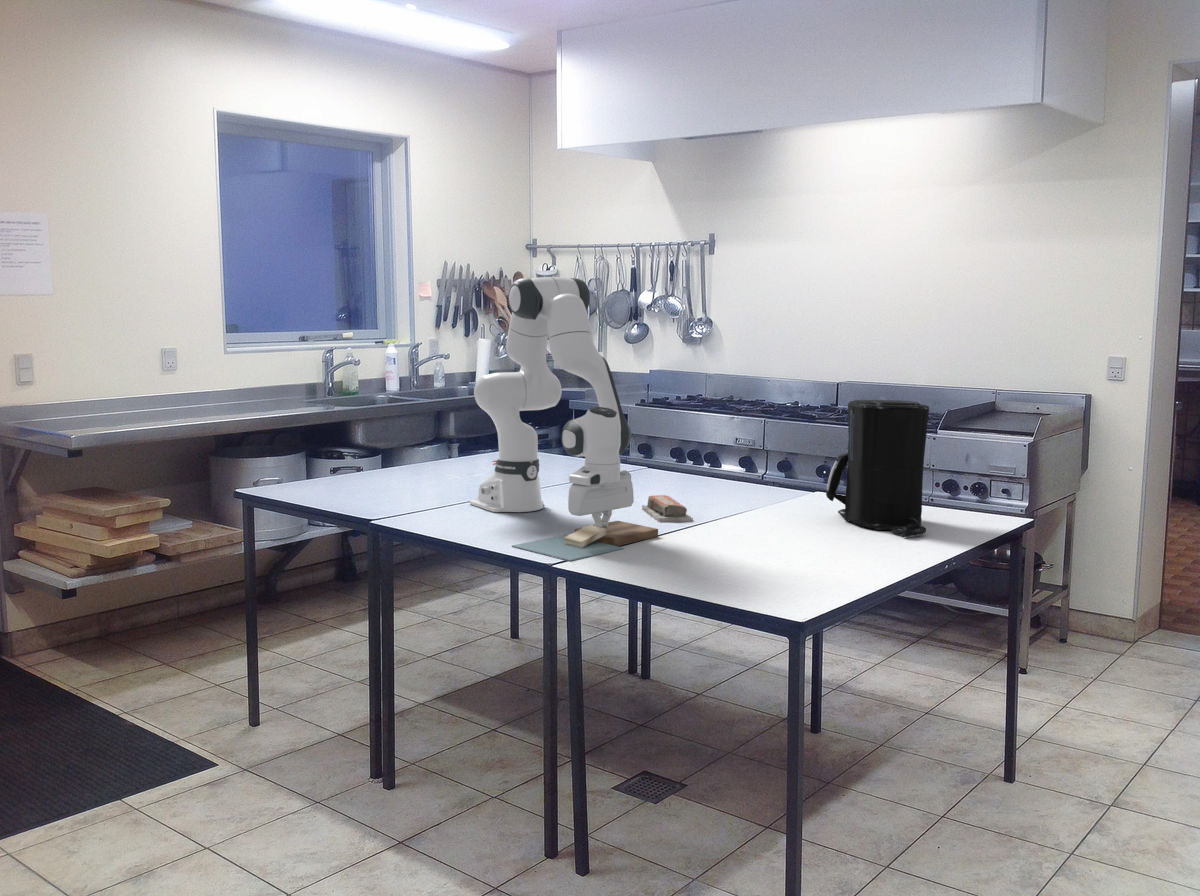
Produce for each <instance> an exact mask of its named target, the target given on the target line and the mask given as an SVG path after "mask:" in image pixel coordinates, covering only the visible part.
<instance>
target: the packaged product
mask: <svg viewBox="0 0 1200 896" xmlns="http://www.w3.org/2000/svg"><path fill="white" fill-rule="evenodd" d="M687 509H688V508H687V507H685V506H684V505H683V504H681V503H680V502H678V501H677V500H675V498H673V497H672V496H669V495H667V494H666V495H665V494H663V495H661V494H660V495H650V496H648V499H647V505H642V506H641V510H642V511H643V510H644V511H643V512H645V513H646V514H647V515H648V516H649V515H650V516H649V517H650V518H652V519H653V518H654V519H653V520H655V521H656V520H657V522H658V523H661V522H662V523H667V521H669V522H670V523H671V521H672V522H689V521H690V522H692V521H693V519H694V517H692V516H691V515H688V514H687V511H688V510H687Z"/></svg>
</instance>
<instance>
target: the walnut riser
mask: <svg viewBox="0 0 1200 896" xmlns="http://www.w3.org/2000/svg"><path fill="white" fill-rule="evenodd" d="M593 526H595V525H594V524H593ZM582 528H583V527H580V528H576V529H574V531H573V533H574V532H576V531H578V530H580V529H582ZM606 530H607V534H606V535H605V536H603V537H601V538H599V539H597V540H595V541H597V542H601V543H605V544H610V545H614V546H618V547H621V546H625V545H628V544H632V543H637V542H642V541H645V540H649V539H653V538H657V537H659V528H656V527H650V526H647V525H642V524H641V525H640V524H638V523H637V524H636V523H631V522H626V521H621V520H614V521H608V528H606Z"/></svg>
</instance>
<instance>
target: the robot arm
mask: <svg viewBox="0 0 1200 896" xmlns="http://www.w3.org/2000/svg"><path fill="white" fill-rule="evenodd" d="M590 302H591V293H590V289H589V287H588V285H587V283H586V282H585V281H584V280H583V279H579V278H576V277H569V278H568V277H561V276H544V277H533V278H530V277H523V278H519V279H517V280H514V281H513V283H512V284H511V286H510V288H509V291H508V304H509V308H510V310H511V315H510V320H509V325H508V326H509V327H508V331H507V338H506V345H505V351H506V355H507V356H508V358H509V359H510V360H512V361H513V362H514V363H516V364H517V365H520V369H519V371H515V372H514V371H512V372H511V371H510V372H509V371H508V372H507V371H506V372H504V371H503V372H494V373H493V372H492V373H489V374H484V375H481V376H480V377H479V378H478V379H477V381H476V382H475V385H474V388H473V394H474V395H473V396H474V400H475V402H476V404H477V406H478V407H480V409H481V410H482V411H484V412H485V413H487V415H488V416H489V417H490V418H491V420H492V421H493V424H494V425H495V429H496V432H497V440H498V442H497V443H498V459H497V460H492V465H493V466H494V465H495V467H494V472H492V473H491V474H490V475H489V476H487V478H486V479H484V480H483V481H482V482H481V483H480V484H479V486H478V494H477V495H478V498H474V499H471V500H470V501H469V504H470V505H471V506H474V507H477V508H481V509H484V510H486V511H489V512H492V513H526V512H534V511H539V510H541V509H542V510H543V508H544V500H543V498H542V490H541V481H540V476H539V471H540V459H539V458H538V453H539V451H538V446H539V445H538V439H539V437H538V433H537V432H536V430H535V428H534V427H533V426H531V425H529V424H527V423H525V422H523V421H522V419H521V416H520V412H525V411H541V410H542V411H543V410H546V409H550V408H553V407H556V406H557V405H558V404H559V402H560V400H561V398H562V395H563V394H562V391H563V389H562V384H561V382H560V380H559V379H558V377H557V376H556V374H554V373H553V372H552V371H551V370H550V368H549V366H548V363H547V362H548V361H547V345H549V351H550V355H551V358H552V360H553V362H554V363H555V364H556V365H557V366H558V367H559V368H560V369H561V370H564V371H566V372H567V373H570V374H572V375H575V376H577V377H580V378H582V379H583V380H585V381H586V382H588V383H589V384H590V385H591V386H592V389H593V390H594V393H595V396H596V399H597V404H598V406H596V407H591V408H589V409H588V410H587V411H586V413H585V414H584V415H582V416H580V417H577V418H573V419H570V420H568V421H567V422H566V423H565V424H564V426H563V428H562V429H561V430H562V431H561V435H560V439H561V440H560V441H561V445H562V447H563V449H564V451H565V452H566V453H567V454H569V456H572V457H584V466H581V467H580V468H579V469H577V470H576V471H574V472H572V473H571V474H570V475H569V476H568V477H569V478H568V480H569V483H571V485H570V487H569V488H568V489H569V490H568V497H567V498H568V503H567V505H568V508H567V509H568V511H569V514H570V515H572V516H576V517H583V516H587V515H588V516H589V515H591V517H592V519H593V521H594V523H595V526H597V527H601V528H608V523H609V522H610V519H611V517H612V515H613V511H614V510H619V509H624V508H628V507H629V508H630V507H632V506H633V504H634V499H635V497H634V495H635V494H634V485H633V482H632V475H631V473H630V471H628V470H621V458H620V456H622V454H623V453H624V452H625V451H626V450H627V449H628V447H629V445H630V443H631V442H632V432H631V428H630V424H629V423H628V421H627V419H626V416H625V414H624V412H623V408H622V405H621V402H620V399H619V395H618V391H617V388H616V384H615V381H614V378H613V375H612V371H611V368H610V365H609V364H608V362H607V360H606V358H605V357H604V356H602V355H601V353H600V352H599V350H598V349H597V347H596V345H595V343H594V339H593V335H592V329H591V323H590V319H589V316H588V311H587V310H588V309H589V306H590ZM548 343H549V344H548ZM493 462H494V463H493ZM601 517H602V518H601Z"/></svg>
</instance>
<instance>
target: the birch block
mask: <svg viewBox="0 0 1200 896" xmlns="http://www.w3.org/2000/svg"><path fill="white" fill-rule="evenodd" d="M581 528H582V529H580V530H578V531H576V532H574V531H573V532H572V533H570V534H567V535H568V536H566V537H564V544H568V545H573V546H577V547H581V548H582V547H584V546H586V545H588V544H590V543H592V542H593V541H595V540H597V539H599V538H601V537H603V536H605V535H606V534H607V530H606V528H601V527H597V526H594V525H591V524H588V525H585V526H583V527H581Z"/></svg>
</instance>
